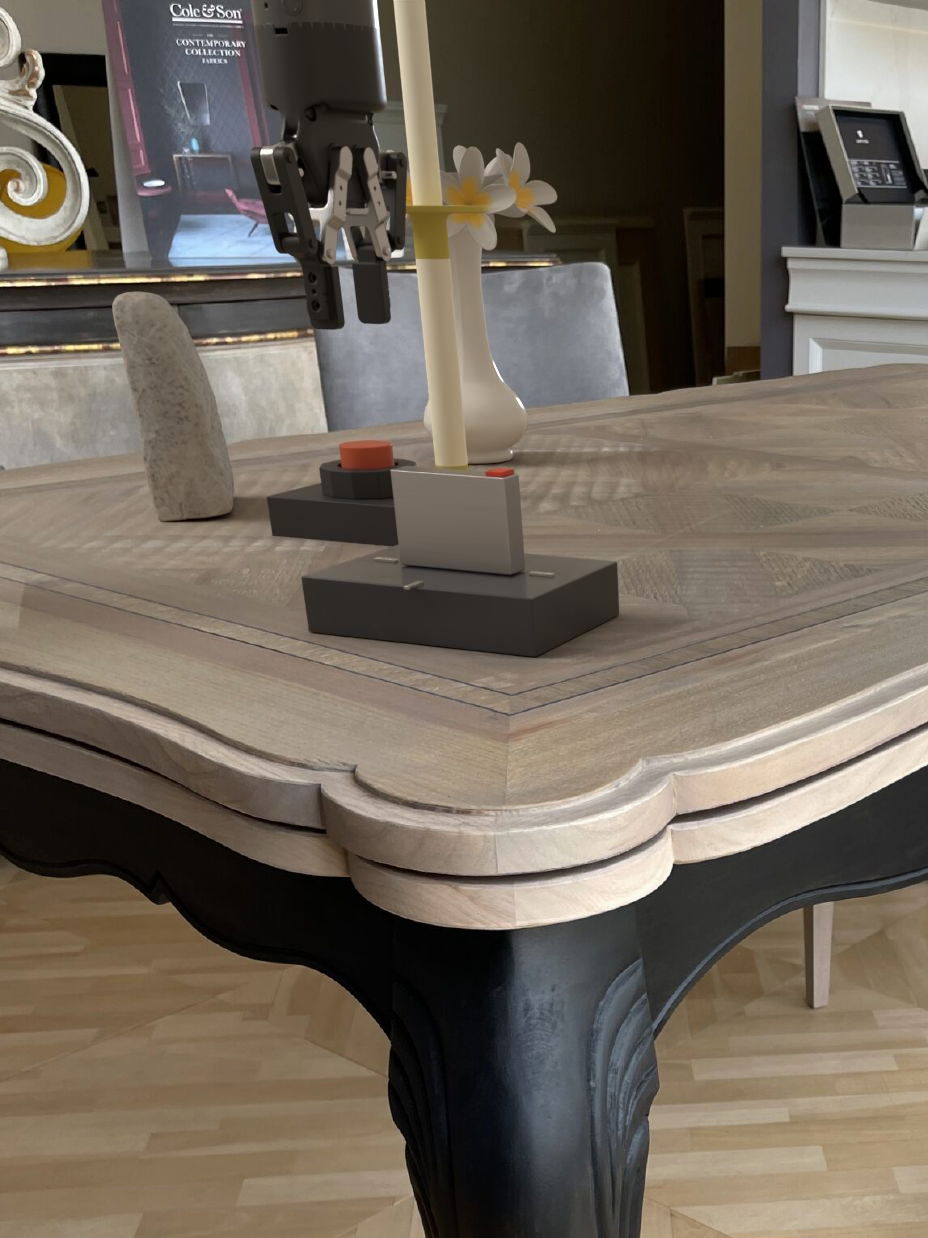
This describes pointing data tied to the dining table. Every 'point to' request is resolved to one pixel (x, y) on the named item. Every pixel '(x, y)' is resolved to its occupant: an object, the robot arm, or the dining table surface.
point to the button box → (340, 507)
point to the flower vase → (485, 396)
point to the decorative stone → (173, 411)
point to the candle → (431, 238)
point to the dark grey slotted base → (463, 602)
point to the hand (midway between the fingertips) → (351, 324)
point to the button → (366, 454)
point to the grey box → (459, 519)
